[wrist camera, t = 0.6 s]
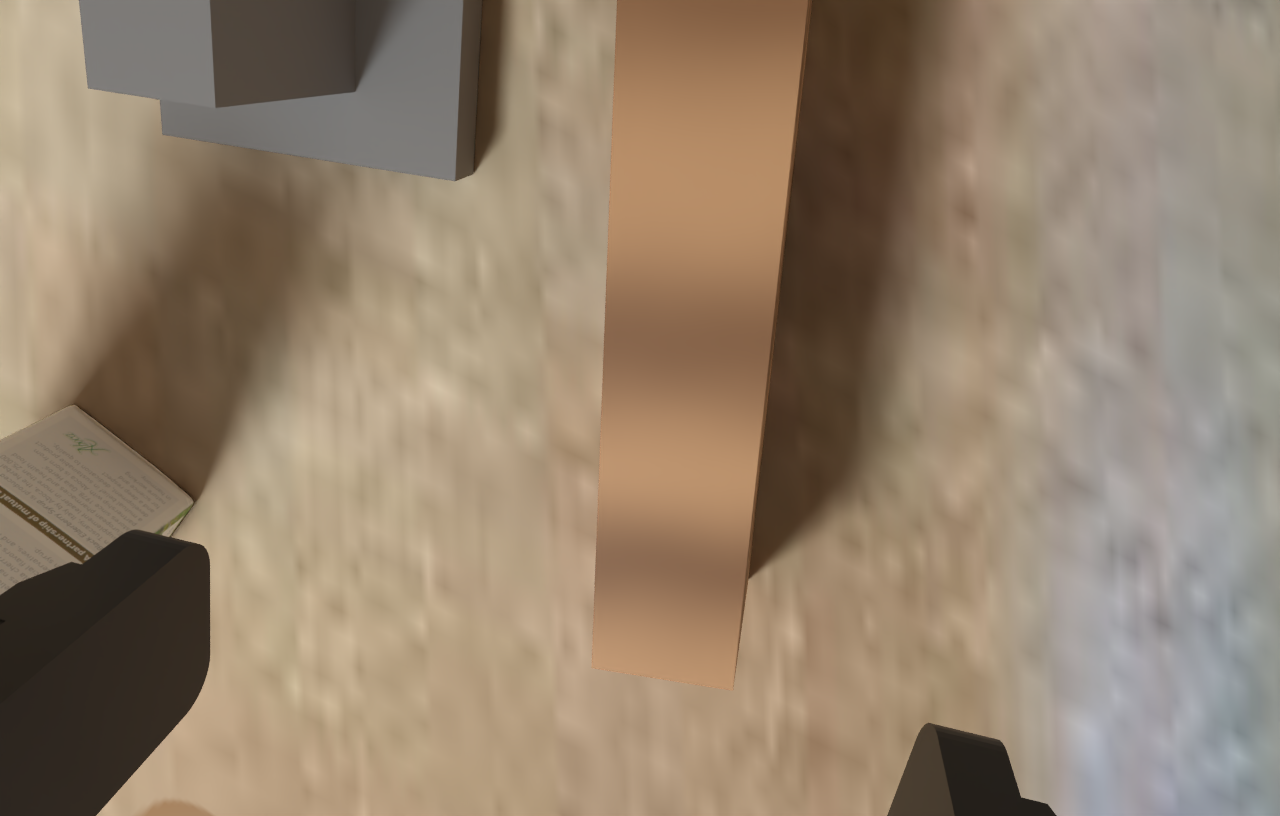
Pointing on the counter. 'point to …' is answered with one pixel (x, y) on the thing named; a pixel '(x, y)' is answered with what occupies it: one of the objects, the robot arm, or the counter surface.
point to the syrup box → (75, 495)
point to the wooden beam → (690, 322)
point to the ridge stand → (301, 75)
